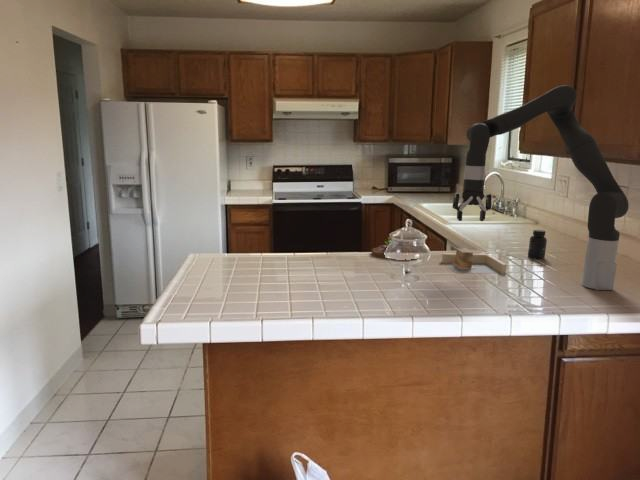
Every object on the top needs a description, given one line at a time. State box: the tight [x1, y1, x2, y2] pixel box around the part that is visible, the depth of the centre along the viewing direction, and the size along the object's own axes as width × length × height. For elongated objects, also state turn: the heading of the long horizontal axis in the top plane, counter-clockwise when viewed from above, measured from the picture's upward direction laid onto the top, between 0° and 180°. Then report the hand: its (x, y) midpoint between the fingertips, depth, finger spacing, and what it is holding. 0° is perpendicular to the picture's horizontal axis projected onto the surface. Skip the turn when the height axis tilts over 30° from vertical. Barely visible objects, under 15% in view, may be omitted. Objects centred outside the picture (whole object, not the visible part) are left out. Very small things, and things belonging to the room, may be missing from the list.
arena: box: [440, 252, 508, 275], centre depth 202 cm, size 18×19×4 cm
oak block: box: [455, 247, 474, 268], centre depth 202 cm, size 4×7×6 cm, turn 5°
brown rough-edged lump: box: [371, 228, 402, 259], centre depth 220 cm, size 20×20×11 cm
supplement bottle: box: [527, 229, 548, 260], centre depth 223 cm, size 7×7×12 cm
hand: (470, 220), depth 199 cm, fingers open, 8 cm apart
